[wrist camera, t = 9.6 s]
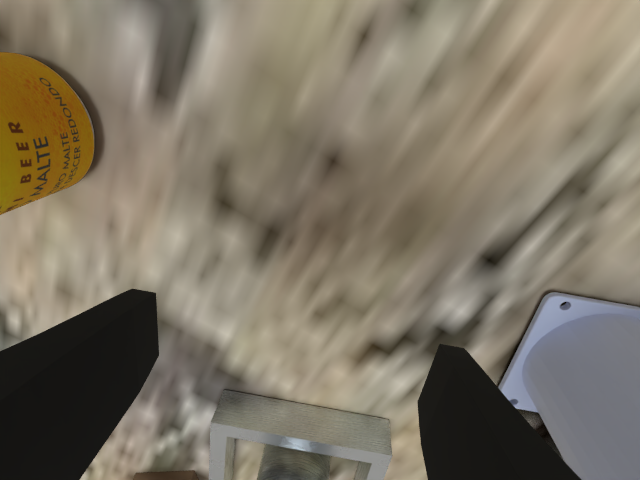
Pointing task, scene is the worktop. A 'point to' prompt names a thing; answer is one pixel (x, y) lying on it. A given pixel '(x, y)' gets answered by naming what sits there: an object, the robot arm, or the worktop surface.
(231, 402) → the frame
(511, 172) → the worktop surface
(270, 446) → the grooved metal cylinder
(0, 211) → the beer can
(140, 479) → the walnut block
